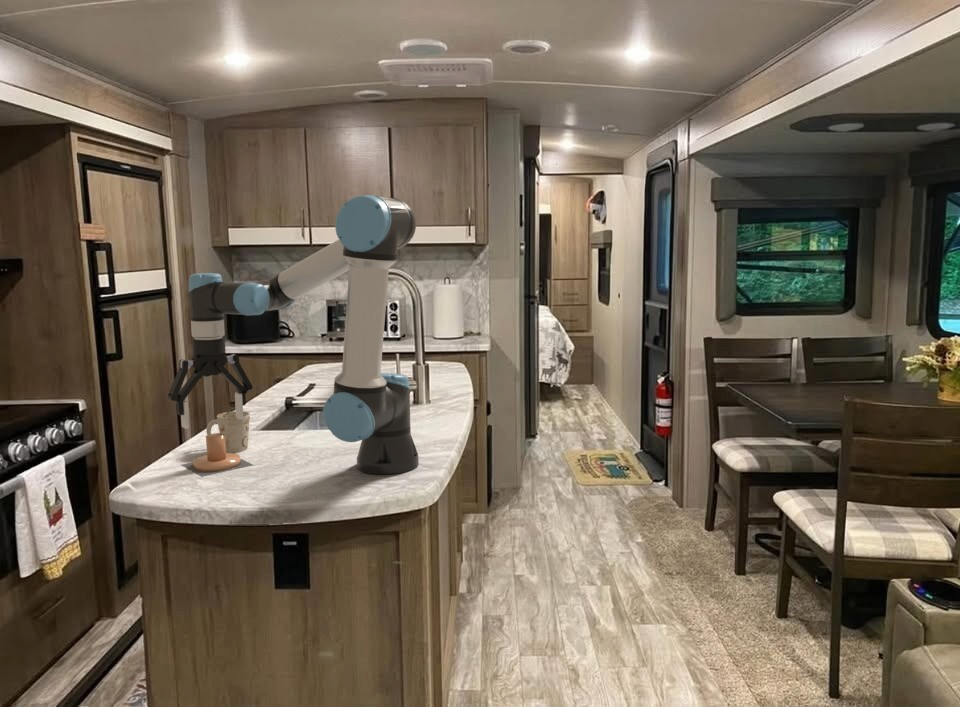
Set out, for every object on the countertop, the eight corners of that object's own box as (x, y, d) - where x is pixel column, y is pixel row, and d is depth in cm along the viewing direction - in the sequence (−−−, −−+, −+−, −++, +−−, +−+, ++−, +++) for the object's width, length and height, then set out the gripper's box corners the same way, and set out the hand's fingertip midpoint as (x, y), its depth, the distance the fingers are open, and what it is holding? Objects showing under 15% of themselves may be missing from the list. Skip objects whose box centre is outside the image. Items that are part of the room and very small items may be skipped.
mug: (242, 456, 193) (239, 418, 192) (198, 454, 196) (195, 417, 194) (257, 447, 201) (255, 411, 200) (215, 445, 204) (213, 410, 202)
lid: (248, 464, 184) (246, 435, 183) (204, 474, 177) (202, 444, 176) (229, 455, 192) (227, 427, 191) (186, 464, 185) (184, 435, 184)
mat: (253, 466, 184) (253, 464, 184) (201, 478, 175) (201, 476, 175) (231, 456, 194) (231, 454, 194) (181, 466, 185) (181, 464, 185)
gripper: (250, 331, 191) (254, 412, 194) (149, 340, 174) (155, 428, 177) (263, 334, 185) (267, 417, 188) (160, 344, 169) (166, 434, 172)
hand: (213, 423), depth 183 cm, fingers open, 13 cm apart
